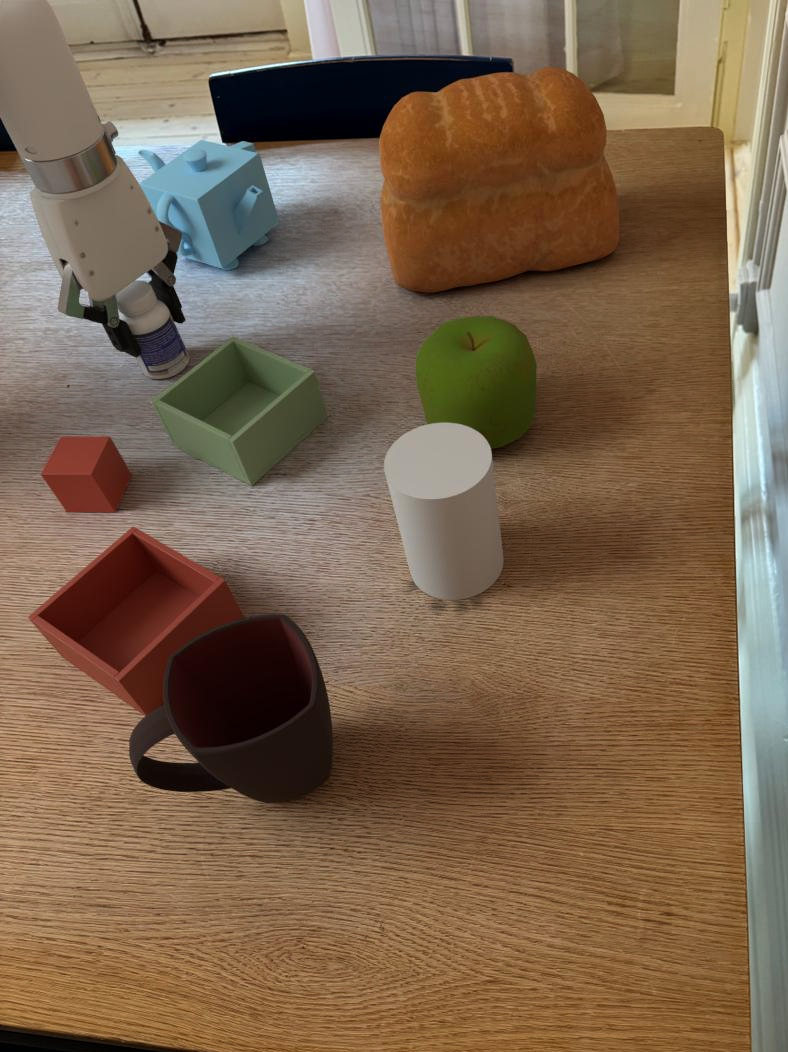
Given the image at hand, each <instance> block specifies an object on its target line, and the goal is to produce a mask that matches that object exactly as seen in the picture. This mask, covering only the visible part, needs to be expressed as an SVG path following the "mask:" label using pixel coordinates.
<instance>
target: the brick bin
mask: <svg viewBox="0 0 788 1052" xmlns="http://www.w3.org/2000/svg"><path fill="white" fill-rule="evenodd" d="M27 618H28V620H29V621H30V622H31V623H32V625H34V627H35V628H36V630H38V632H40V634H41V635H42V637H44V639H45V640H46V641H47V642H48V643H49V644H50V645H51V646H52V648H54V650H55V651H56V652H57V654H59V656H60V657H61V658H63V659H64V660H66V661H67V662H69V664H71V665H72V666H74V667H76V668H77V669H78V670H80V671H81V672H83V673H84V674H85V675H87V676H88V677H90V678H91V679H92V680H94V681H95V682H97V683H98V684H99V685H100V686H102V687H104V688H105V689H106V690H108V691H109V692H111V693H112V694H114V695H115V696H116V697H117V698H119V699H121V700H122V701H123V702H124V703H126V704H127V705H129V706H130V707H132V708H133V709H134V710H136V711H137V712H139V713H140V714H141V715H142V716H144V717H145V716H147V715H148V714H149V713H151V712H152V711H154V710H155V709H157V708H159V707H161V706H163V705H164V698H163V684H164V676H165V671H166V667H167V663H168V660H169V657H170V656H171V655H172V654H173V653H175V652H176V651H177V650H178V649H180V648H181V647H182V646H184V645H185V644H187V643H188V642H190V641H191V640H193V639H194V638H196V637H198V636H200V635H201V634H203V633H205V632H207V631H209V630H211V629H213V628H216V627H218V626H221V625H223V624H226V623H229V622H232V621H235V620H239V619H242V618H246V617H245V615H244V613H243V610H242V609H241V607H240V605H239V604H238V602H237V600H236V597H235V596H234V594H233V592H232V589H231V588H230V586H229V584H228V583H227V580H226V579H224V578H222V577H221V576H219V575H217V573H214V572H212V571H211V570H209V569H208V568H206V567H204V566H202V565H201V564H198V563H197V562H195V561H193V560H192V559H190V558H188V557H187V556H185V555H183V554H182V553H180V552H179V551H177V550H175V549H174V548H172V547H170V546H168V545H167V544H166V543H165V544H164V543H163V542H161V541H159V540H158V539H157V538H154V537H153V536H151V535H149V534H148V533H146V532H144V531H142V530H141V529H139V528H137V527H136V526H134V525H133V526H131V527H130V528H129V529H128V530H127V531H125V533H123V534H122V535H121V536H119V538H117V539H116V540H115V541H114V542H113V543H112V544H111V545H109V546H108V547H107V548H106V549H104V551H102V552H101V553H100V554H99V555H97V557H95V558H94V559H93V560H92V561H91V562H90V563H88V564H87V565H86V566H85V567H83V568H82V570H80V571H79V572H78V573H77V574H76V575H74V576H73V577H72V578H71V579H69V581H68V582H66V583H65V584H64V585H63V586H61V588H59V589H58V590H57V591H56V592H55V593H53V594H52V595H51V596H50V597H49V598H48V599H46V601H44V602H43V603H42V604H41V605H40V606H38V607H37V608H36V609H35V610H34V611H33V612H32V613H31V614H29V615H28V616H27Z"/></svg>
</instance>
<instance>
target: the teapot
mask: <svg viewBox="0 0 788 1052" xmlns="http://www.w3.org/2000/svg"><path fill="white" fill-rule="evenodd" d="M137 154H138V155H139V156H140V157H141V158H143V160H145V161H146V162H147V163H148V164H149V166H150V167H151V169H152V171H153V172H154V173H152V174H151V175H149V176H148V177H147V178H144V180H143V181H141V182H139V185H140V186H141V188H142V190H143V192H144V193H145V195H146V197H147V199H148V201H149V203H150V205H151V207H152V209H153V211H154V213H155V215H156V217H157V219H158V221H160V222H162V223H165V224H167V225H169V226H171V227H173V228H175V229H177V230H179V231H181V233H182V240H181V243H180V247H179V250H178V252H177V256H180V257H183V258H185V259H188V260H190V261H195V262H199V263H202V264H206V265H208V266H212V267H215V268H219V269H221V270H224V271H230V270H234V269H236V268H237V267H238V266H239V264H240V262H239V259H238V257H239V256H240V255H242V254H243V253H244V252H245V251H247V249H249V248H250V247H251V246H253V247H258V246H259V247H260V246H263V245H265V244H266V243H267V242H268V240H269V238H268V237H267V236H266V234H267V233H268V232H269V231H270V230H272V229H273V228H274V227H275V226H277V225H278V224H279V223H280V219H279V215H278V212H277V208H276V205H275V201H274V198H273V195H272V192H271V188H270V184H269V181H268V178H267V174H266V170H265V168H264V164H263V161H262V158H261V154H260V152H257V151H256V148H255V144H254V143H253V142H252V143H251V142H248V141H243V140H242V141H239V142H236V143H235V144H232V145H225V144H221V143H217V142H212V141H209V140H203V139H201V140H199V141H197V142H196V143H194V144H193V145H191V146H190V147H188V148H187V149H186V150H184V151H183V152H181V153H180V154H178V155H177V156H176V157H174V158H173V159H172V160H170V161H169V162H167V163H165V162H164V160H163V159H162V158H161V157H160V156H158V155H157V154H156V153H155V152H153V151H151V150H147V149H140V150H138V152H137Z"/></svg>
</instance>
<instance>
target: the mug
mask: <svg viewBox="0 0 788 1052" xmlns="http://www.w3.org/2000/svg"><path fill="white" fill-rule="evenodd" d="M328 694H329V693H328V690H327V686H326V682H325V678H324V674H323V672H322V669H321V666H320V663H319V661H318V658H317V655H316V653H315V651H314V648H313V646H312V644H311V642H310V640H309V639H308V637H307V636H306V634H305V633H304V631H302V629H301V628H300V627H299V625H297V624H296V623H295V622H294V621H293V620H292V619H291V618H290V617H289V616H287V615H286V614H283V613H271V614H270V613H269V614H268V613H267V614H257V615H252V616H247V617H245V618H242V619H239V620H235V621H232V622H229V623H226V624H223V625H221V626H218V627H216V628H213V629H211V630H209V631H207V632H205V633H203V634H201V635H200V636H198V637H196V638H194V639H193V640H191V641H190V642H188V643H187V644H185V645H184V646H182V647H181V648H180V649H178V650H177V651H176V652H175V653H173V654H172V655H171V656H170V657H169V660H168V663H167V667H166V671H165V676H164V684H163V698H164V704H163V705H162V706H161V707H159V708H157V709H155V710H154V711H152V712H151V713H149V714H148V715H147V716H144V717H143V718H142V719H141V720H140V721H138V723H137V724H136V725H135V727H134V728H133V729H132V731H131V734H130V737H129V740H128V741H129V742H128V743H129V744H128V746H129V747H128V756H129V757H128V758H129V760H130V763H131V766H132V769H133V771H134V773H135V775H136V776H137V778H138V780H140V781H141V782H142V783H144V784H146V785H147V786H150V787H152V788H154V789H158V790H162V791H167V792H176V793H204V792H216V791H224V790H229V789H232V790H233V791H235V792H237V793H239V794H241V795H242V796H243V797H246V798H249V799H251V800H253V801H256V802H260V803H264V804H281V803H287V802H291V801H295V800H298V799H300V798H303V797H305V796H307V795H309V794H312V792H314V791H316V790H318V789H319V788H320V787H321V786H322V785H324V784H325V783H326V782H327V781H328V780H329V779H330V777H331V773H332V768H333V762H334V761H333V760H334V732H333V722H332V721H333V720H332V713H331V706H330V705H331V704H330V700H329V695H328ZM173 735H174V736H175V737H176V738H177V739H178V741H179V742H180V744H181V745H182V746H183V747H184V748H185V750H186V751H187V752H188V753H189V754H190V755H191V756H192V757H193V758H194V759H195V760H196V761H197V762H171V761H164V760H158V759H153V758H151V757H149V756H146V755H145V754H146V753H147V752H148V751H149V750H151V749H152V748H153V747H154V746H156V745H158V743H160V742H162V741H163V740H165V739H167V738H169V737H171V736H173Z"/></svg>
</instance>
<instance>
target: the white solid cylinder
mask: <svg viewBox="0 0 788 1052" xmlns="http://www.w3.org/2000/svg"><path fill="white" fill-rule="evenodd" d="M383 470H384V474H385V478H386V482H387V486H388V490H389V495H390V498H391V502H392V507H393V510H394V514H395V517H396V522H397V525H398V530H399V534H400V537H401V542H402V546H403V550H404V553H405V558H406V561H407V565H408V569H409V573H410V577H411V580H412V581H413V583H414V584H415V586H416V587H417V588H418V589H419V590H420V591H422V592H423V593H425V594H426V595H428V596H430V597H433V598H435V599H438V600H443V601H461V600H466V599H469V598H473V597H475V596H478V595H480V594H482V593H484V592H485V591H487V590H488V589H489V588H491V587H492V585H494V584H495V583H496V582H497V580H498V578H499V577H500V576H501V573H502V571H503V568H504V564H505V563H504V559H505V558H504V549H503V542H502V532H501V523H500V522H501V521H500V514H499V507H498V506H499V505H498V498H497V488H496V479H495V471H494V462H493V454H492V449H491V448H490V445H489V443H488V442H487V440H486V439H485V438H484V437H483V435H481V434H480V433H479V432H478V431H476V430H474V429H472V428H470V427H468V426H465V425H461V424H456V423H433V424H428V425H427V424H424V425H421V426H418V427H415V428H413V429H410V430H409V431H407V432H405V433H404V434H402V435H401V436H399V437H398V438H397V439H396V440H395V441H394V442H393V443H392V445H391V446H390V447H389V449H388V450H387V452H386V455H385V457H384V461H383Z"/></svg>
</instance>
